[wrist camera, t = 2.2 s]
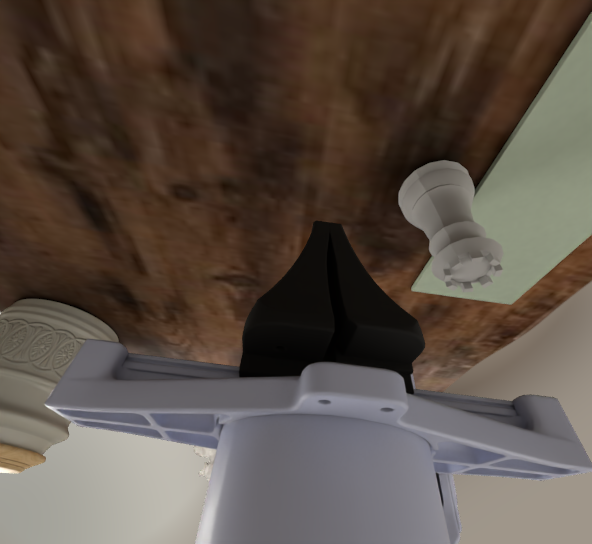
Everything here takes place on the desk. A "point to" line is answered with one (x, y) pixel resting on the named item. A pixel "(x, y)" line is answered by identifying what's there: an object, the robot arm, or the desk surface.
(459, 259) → the rook chess piece
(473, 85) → the desk surface
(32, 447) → the jar
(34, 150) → the desk surface
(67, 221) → the desk surface
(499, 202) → the mat
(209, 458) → the white tied sack
